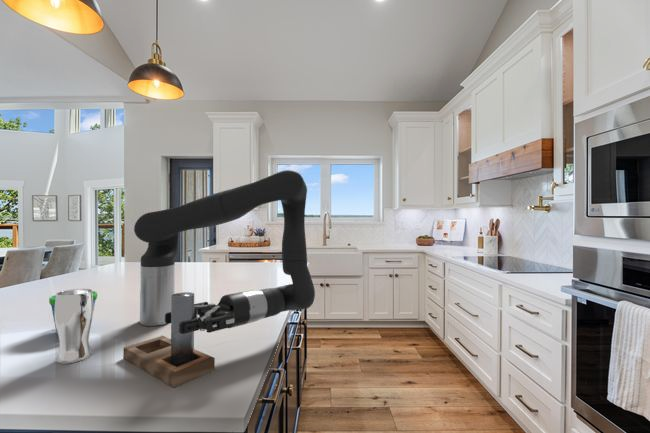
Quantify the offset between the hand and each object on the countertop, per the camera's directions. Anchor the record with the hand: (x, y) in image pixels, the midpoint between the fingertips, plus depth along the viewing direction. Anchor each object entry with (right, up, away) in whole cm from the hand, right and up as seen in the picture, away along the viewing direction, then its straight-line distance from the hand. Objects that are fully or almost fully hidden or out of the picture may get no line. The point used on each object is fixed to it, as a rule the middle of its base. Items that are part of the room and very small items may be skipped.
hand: (172, 323), depth 66 cm
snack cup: (-38, -10, +24) cm, 46 cm away
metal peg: (+1, -11, +2) cm, 11 cm away
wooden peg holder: (-3, -10, +5) cm, 12 cm away
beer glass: (-26, -10, +7) cm, 29 cm away
